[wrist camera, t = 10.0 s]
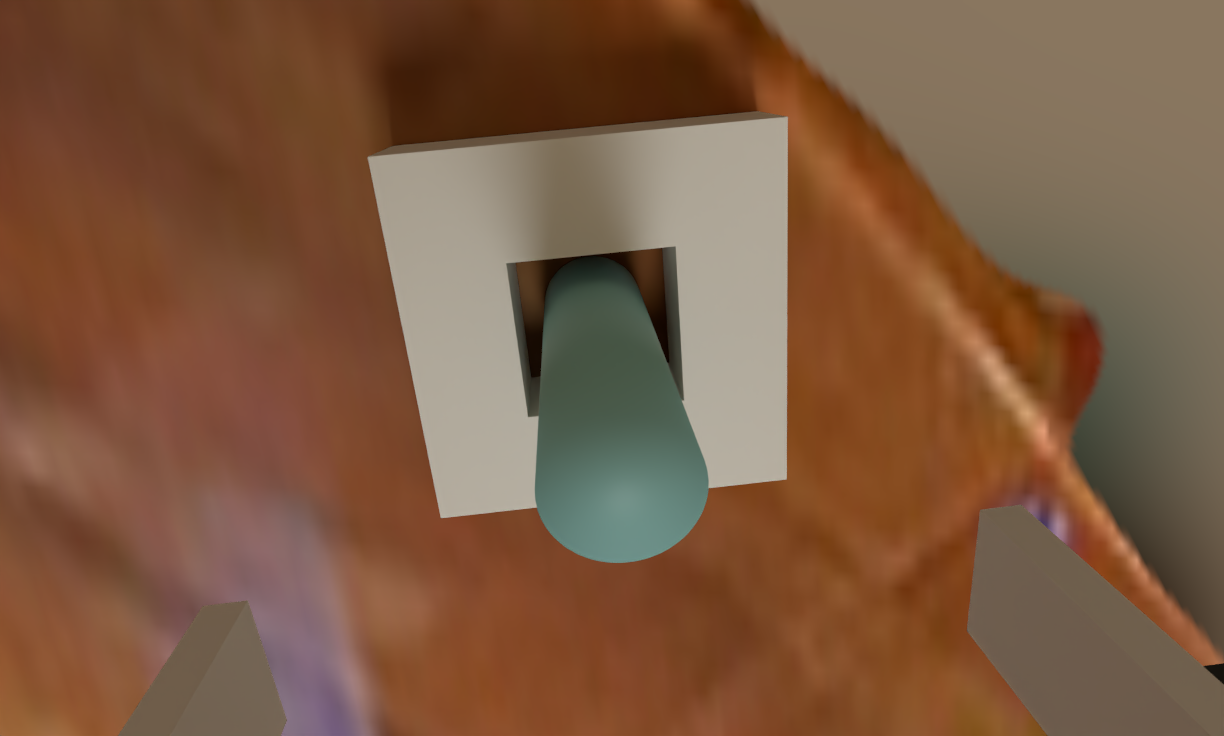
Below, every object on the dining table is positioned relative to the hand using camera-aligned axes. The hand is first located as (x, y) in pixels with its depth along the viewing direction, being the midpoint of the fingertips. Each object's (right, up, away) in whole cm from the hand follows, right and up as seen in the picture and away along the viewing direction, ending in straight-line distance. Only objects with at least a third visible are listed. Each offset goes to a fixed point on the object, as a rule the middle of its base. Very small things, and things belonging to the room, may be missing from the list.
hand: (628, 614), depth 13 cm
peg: (-1, +7, +17) cm, 19 cm away
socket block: (-1, +7, +17) cm, 19 cm away
